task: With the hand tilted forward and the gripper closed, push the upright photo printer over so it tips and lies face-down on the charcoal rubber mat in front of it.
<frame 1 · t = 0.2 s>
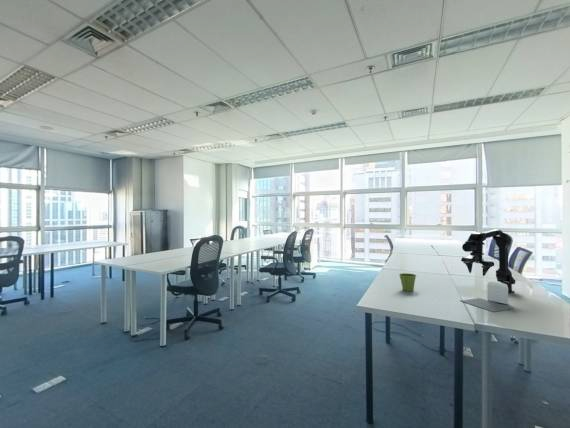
hand: (476, 274, 176), 14 cm above the table, tool pointing down, fingers open, 9 cm apart
plant pot: (407, 290, 191), on the table
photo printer: (497, 302, 161), on the table, touching mat
mat: (485, 304, 158), on the table
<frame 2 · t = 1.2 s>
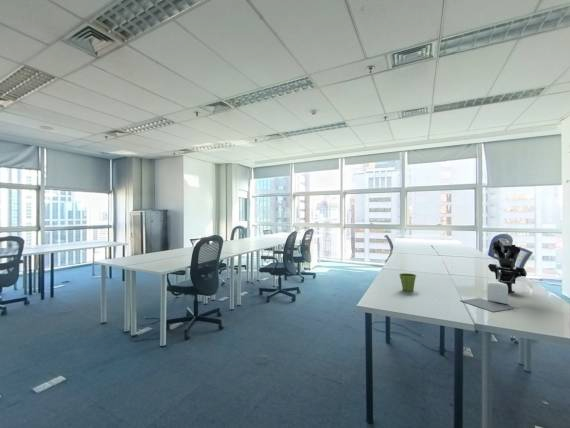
hand: (502, 280, 166), 12 cm above the table, tool tilted 45°, fingers open, 7 cm apart
nothing on the table moved.
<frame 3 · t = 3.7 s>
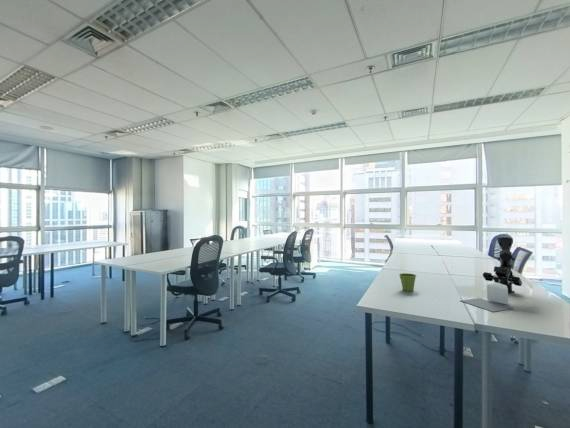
hand: (497, 289, 162), 8 cm above the table, tool tilted 45°, fingers closed
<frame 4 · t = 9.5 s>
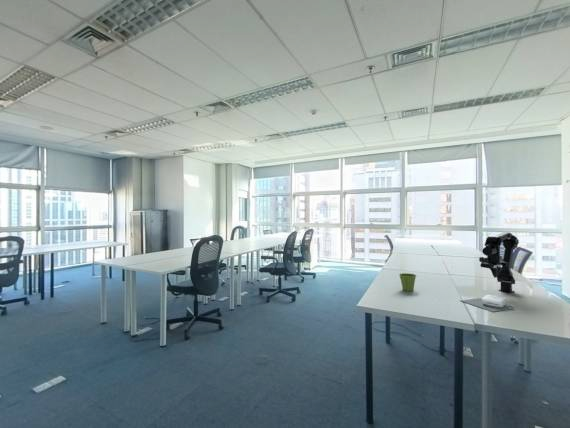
hand: (495, 277, 176), 12 cm above the table, tool pointing down, fingers closed
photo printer: (496, 298, 160), point 3 cm above the table, touching mat
everything else where it was.
at the end: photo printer tilted 91°; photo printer touching mat; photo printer inside the target area (5.9 cm from its centre), point 2.6 cm above the table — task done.
